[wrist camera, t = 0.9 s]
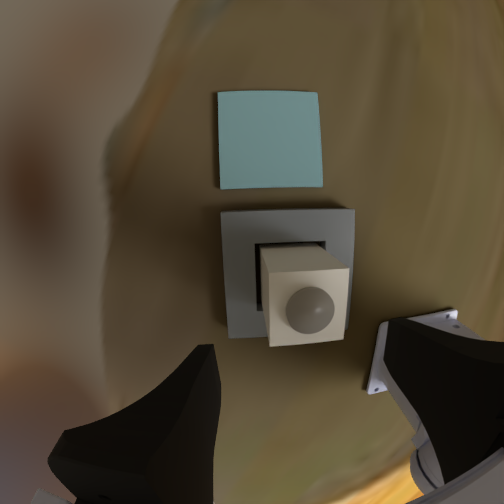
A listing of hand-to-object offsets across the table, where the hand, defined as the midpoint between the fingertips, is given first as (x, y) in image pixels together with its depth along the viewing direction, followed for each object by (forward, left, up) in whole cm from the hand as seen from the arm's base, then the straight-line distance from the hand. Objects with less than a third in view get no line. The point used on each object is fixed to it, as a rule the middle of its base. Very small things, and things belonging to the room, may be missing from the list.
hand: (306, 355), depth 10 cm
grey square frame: (-1, 0, -10) cm, 10 cm away
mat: (0, -10, -10) cm, 14 cm away
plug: (-1, 0, -10) cm, 10 cm away
